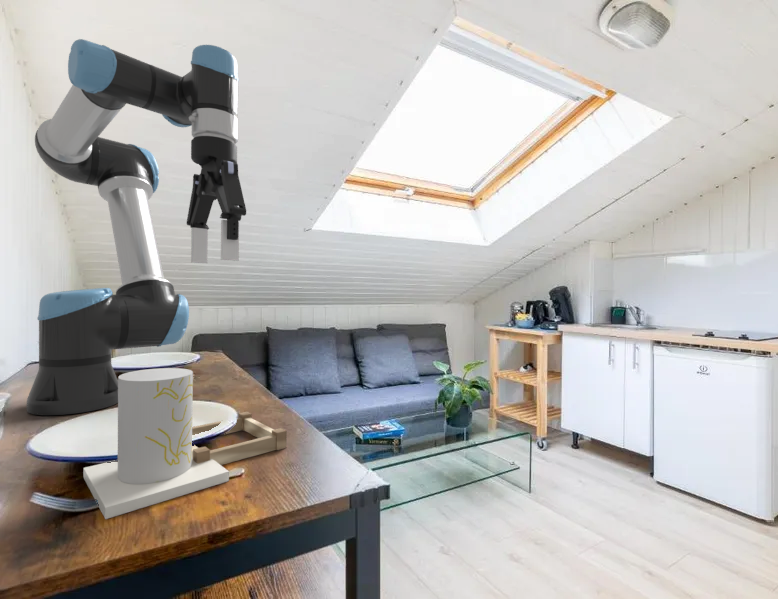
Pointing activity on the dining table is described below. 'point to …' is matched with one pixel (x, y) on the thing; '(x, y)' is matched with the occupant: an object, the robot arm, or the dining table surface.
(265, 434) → the square wooden frame
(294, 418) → the dining table surface
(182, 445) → the cup
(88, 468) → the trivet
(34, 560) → the dining table surface
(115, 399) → the robot arm
